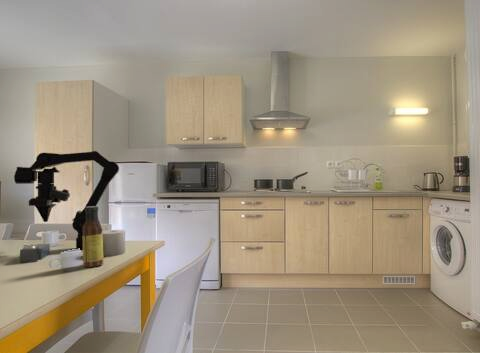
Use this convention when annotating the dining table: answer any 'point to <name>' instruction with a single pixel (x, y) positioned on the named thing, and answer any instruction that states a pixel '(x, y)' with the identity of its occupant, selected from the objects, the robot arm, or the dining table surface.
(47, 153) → the robot arm
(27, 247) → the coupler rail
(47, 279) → the dining table surface
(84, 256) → the sauce bottle
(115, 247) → the toilet tissue
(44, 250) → the block
